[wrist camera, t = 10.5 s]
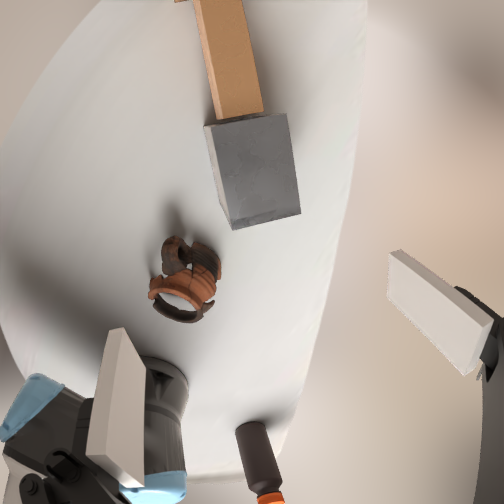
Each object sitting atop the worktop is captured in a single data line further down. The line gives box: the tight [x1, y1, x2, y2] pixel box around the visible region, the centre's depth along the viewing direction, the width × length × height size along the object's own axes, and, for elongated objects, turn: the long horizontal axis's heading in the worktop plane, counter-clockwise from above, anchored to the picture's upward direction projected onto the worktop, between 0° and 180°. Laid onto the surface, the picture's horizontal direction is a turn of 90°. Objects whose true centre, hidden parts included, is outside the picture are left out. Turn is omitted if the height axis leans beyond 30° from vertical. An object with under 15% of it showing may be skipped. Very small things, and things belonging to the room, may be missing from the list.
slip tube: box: [193, 0, 264, 120], centre depth 25 cm, size 4×20×6 cm, turn 10°
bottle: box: [235, 422, 285, 504], centre depth 51 cm, size 7×7×20 cm
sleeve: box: [203, 113, 301, 230], centre depth 32 cm, size 7×10×10 cm
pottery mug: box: [148, 236, 221, 323], centre depth 39 cm, size 12×10×8 cm
